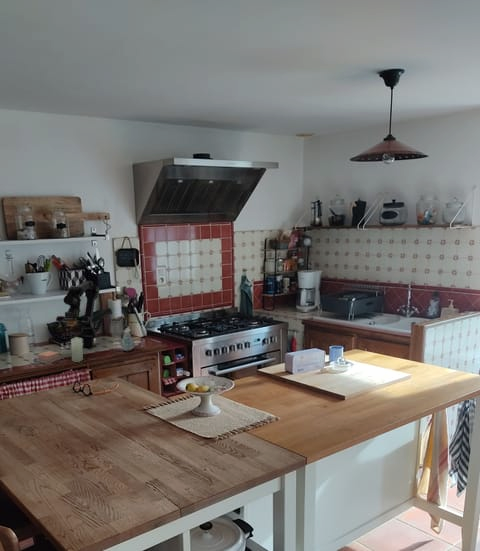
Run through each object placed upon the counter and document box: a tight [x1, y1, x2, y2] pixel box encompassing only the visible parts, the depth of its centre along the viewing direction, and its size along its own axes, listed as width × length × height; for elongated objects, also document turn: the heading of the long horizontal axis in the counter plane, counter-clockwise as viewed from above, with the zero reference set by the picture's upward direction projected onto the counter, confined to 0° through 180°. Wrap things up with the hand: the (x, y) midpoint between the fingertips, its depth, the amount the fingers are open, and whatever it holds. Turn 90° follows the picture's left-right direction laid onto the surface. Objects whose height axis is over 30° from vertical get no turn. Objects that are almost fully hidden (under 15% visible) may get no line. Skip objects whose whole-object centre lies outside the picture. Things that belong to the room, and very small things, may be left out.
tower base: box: [32, 350, 65, 365], centre depth 283 cm, size 12×12×4 cm
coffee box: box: [111, 316, 129, 344], centre depth 320 cm, size 9×6×16 cm
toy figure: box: [112, 327, 142, 352], centre depth 301 cm, size 17×10×15 cm, turn 105°
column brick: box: [70, 336, 84, 363], centre depth 281 cm, size 6×6×14 cm
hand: (72, 334), depth 285 cm, fingers open, 9 cm apart
